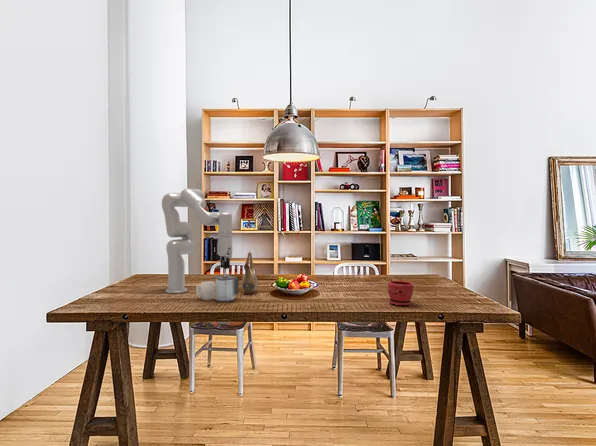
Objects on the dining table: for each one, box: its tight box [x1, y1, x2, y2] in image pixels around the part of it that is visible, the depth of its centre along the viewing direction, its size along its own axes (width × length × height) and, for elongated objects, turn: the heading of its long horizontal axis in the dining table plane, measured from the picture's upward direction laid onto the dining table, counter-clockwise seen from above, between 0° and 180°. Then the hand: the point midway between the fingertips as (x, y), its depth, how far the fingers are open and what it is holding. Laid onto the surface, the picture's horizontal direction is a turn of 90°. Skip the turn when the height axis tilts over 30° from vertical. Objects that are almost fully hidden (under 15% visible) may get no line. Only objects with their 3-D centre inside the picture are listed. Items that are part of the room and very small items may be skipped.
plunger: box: [222, 260, 227, 278], centre depth 222 cm, size 7×7×16 cm
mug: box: [195, 280, 215, 301], centre depth 226 cm, size 8×10×9 cm
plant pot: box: [387, 280, 414, 306], centre depth 215 cm, size 13×13×12 cm
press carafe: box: [212, 274, 239, 303], centre depth 223 cm, size 10×13×13 cm
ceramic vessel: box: [241, 251, 258, 295], centre depth 240 cm, size 16×9×25 cm, turn 172°
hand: (225, 267), depth 221 cm, fingers closed on plunger, 3 cm apart
